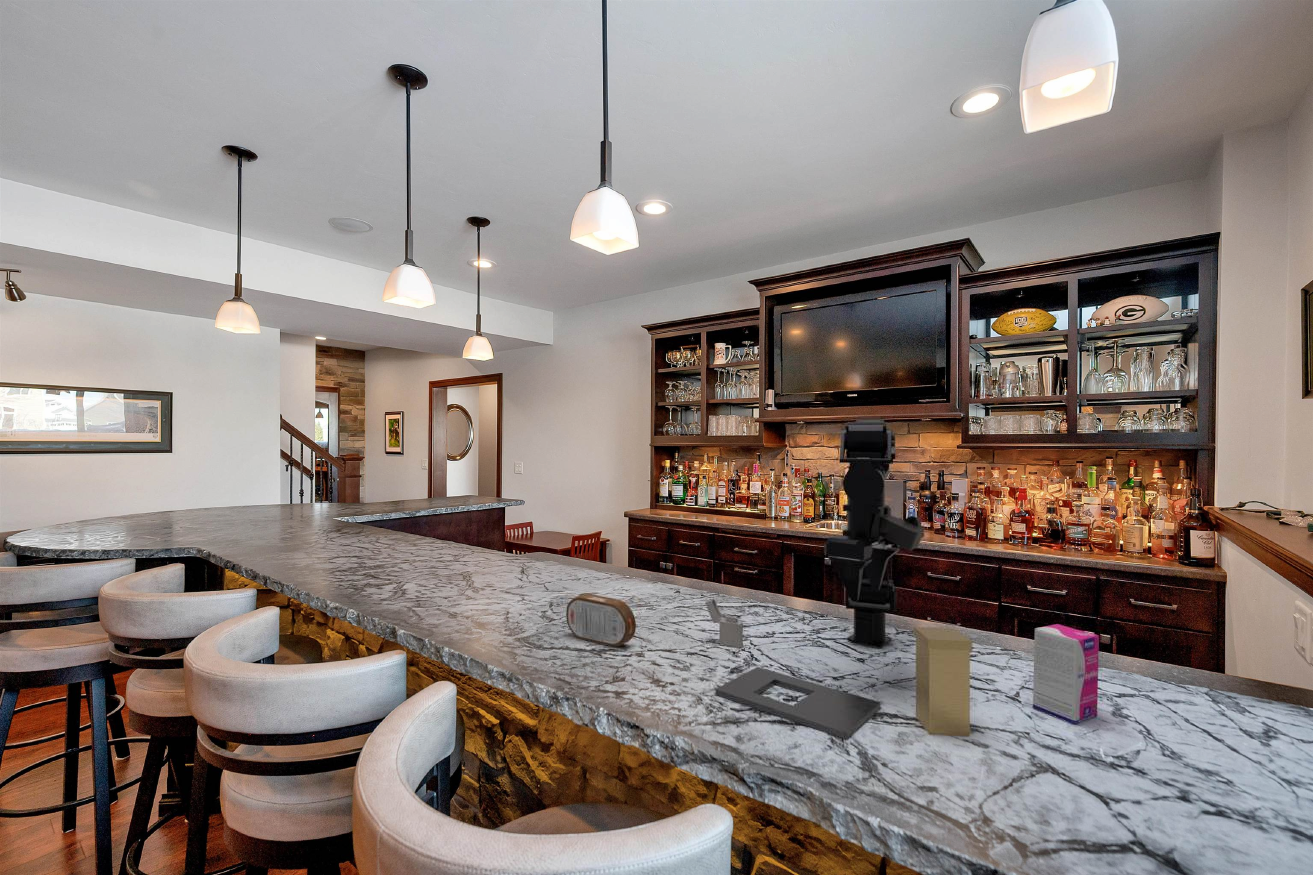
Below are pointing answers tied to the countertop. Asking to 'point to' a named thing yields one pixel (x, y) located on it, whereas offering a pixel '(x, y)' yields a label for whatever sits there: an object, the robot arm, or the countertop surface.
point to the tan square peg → (943, 680)
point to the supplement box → (1066, 673)
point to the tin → (601, 619)
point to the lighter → (726, 626)
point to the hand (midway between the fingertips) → (865, 595)
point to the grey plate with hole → (802, 702)
